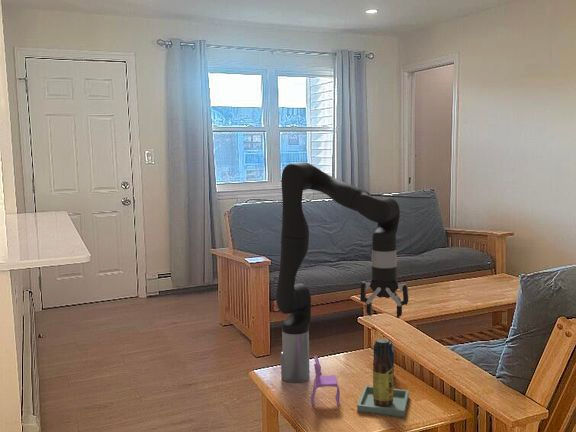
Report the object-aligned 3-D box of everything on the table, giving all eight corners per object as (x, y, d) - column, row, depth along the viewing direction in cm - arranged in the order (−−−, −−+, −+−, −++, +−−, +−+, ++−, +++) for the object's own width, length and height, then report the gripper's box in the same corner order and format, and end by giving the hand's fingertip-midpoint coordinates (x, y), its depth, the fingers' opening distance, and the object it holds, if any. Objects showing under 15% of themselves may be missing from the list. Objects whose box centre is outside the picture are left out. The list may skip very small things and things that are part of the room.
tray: (357, 412, 165) (357, 405, 164) (365, 391, 178) (365, 385, 178) (404, 417, 160) (404, 410, 160) (408, 396, 174) (408, 390, 173)
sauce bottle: (393, 407, 165) (393, 345, 163) (372, 406, 167) (372, 344, 164) (393, 398, 172) (393, 337, 169) (373, 397, 173) (372, 336, 171)
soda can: (396, 373, 192) (396, 340, 190) (389, 380, 186) (389, 346, 184) (378, 369, 196) (378, 337, 194) (370, 376, 190) (370, 343, 188)
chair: (340, 407, 168) (339, 361, 166) (312, 408, 168) (311, 362, 166) (337, 395, 176) (336, 351, 174) (310, 396, 176) (309, 351, 174)
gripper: (358, 265, 163) (358, 318, 165) (406, 268, 158) (406, 321, 160) (362, 260, 170) (363, 311, 172) (409, 262, 165) (409, 314, 167)
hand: (384, 316), depth 166 cm, fingers open, 8 cm apart
